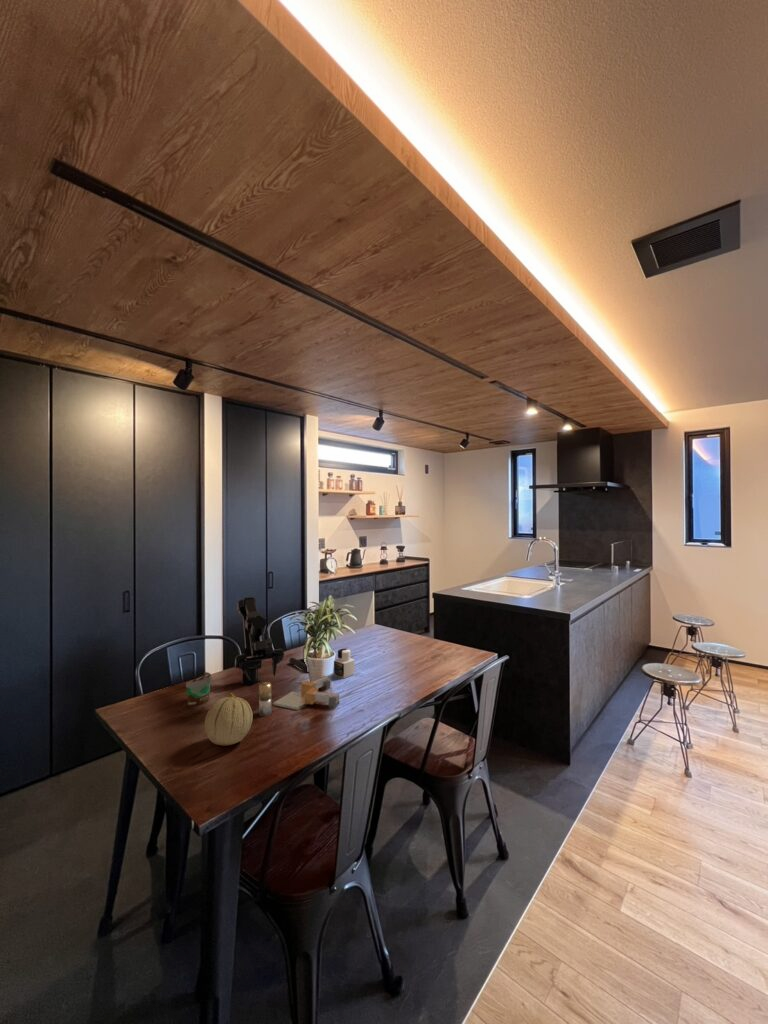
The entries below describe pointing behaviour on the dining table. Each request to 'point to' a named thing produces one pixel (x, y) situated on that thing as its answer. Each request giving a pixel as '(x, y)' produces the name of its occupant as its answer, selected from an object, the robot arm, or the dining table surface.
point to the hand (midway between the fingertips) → (262, 677)
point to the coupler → (265, 699)
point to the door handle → (299, 663)
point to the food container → (199, 690)
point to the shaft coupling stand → (309, 695)
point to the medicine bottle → (344, 664)
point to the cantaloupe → (228, 720)
